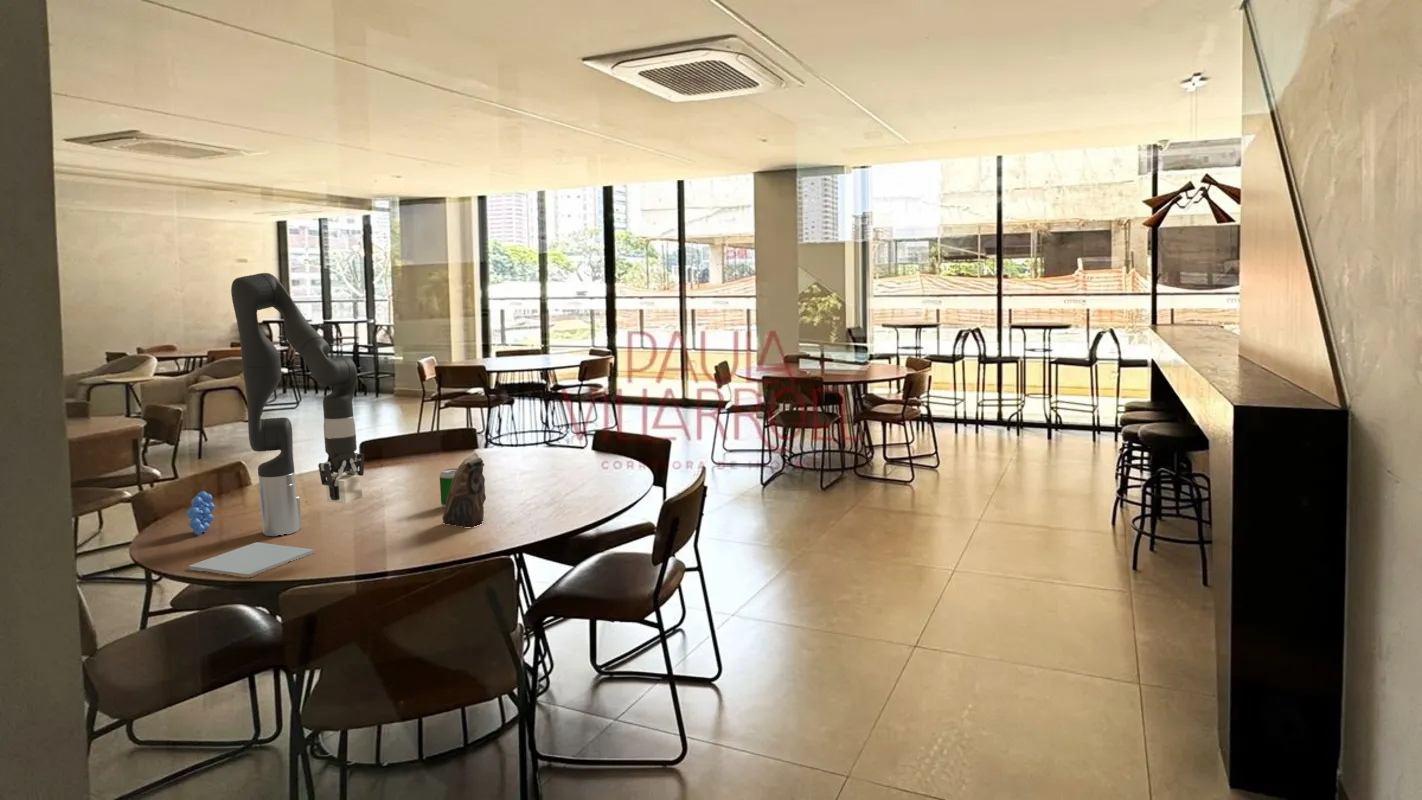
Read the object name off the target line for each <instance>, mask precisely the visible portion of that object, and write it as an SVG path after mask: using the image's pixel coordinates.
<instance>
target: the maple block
mask: <svg viewBox="0 0 1422 800" xmlns="http://www.w3.org/2000/svg"><path fill="white" fill-rule="evenodd" d="M334 479H335V477H334V478H333V480H332V481H334ZM326 480H327V478H326ZM338 481H339V483H338V486H339V500H332V499H331V498H330V492H329V486H328V485H325V488H326V489H325V491H326V501H327V502H329V503H336V504H337V503H338V504H348V503H351V502H354V501H357V500H360V499H363V489H362V488H363V487H362V476H358V475H347V474H346V473H343V474H342V477H341V478H340V479H339V480H338Z"/></svg>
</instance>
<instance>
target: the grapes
mask: <svg viewBox="0 0 1422 800" xmlns="http://www.w3.org/2000/svg"><path fill="white" fill-rule="evenodd" d="M213 499H214V498H213V496H212V494H211V493H207V491H204V490H201V491H200V492H198V493H197V495H196V496H195V497H194V498H193V499H192V500H191V501H190V503H191V505H192V507H190V508H189V509H188V510H187V511H186V513H185V515H186V517H187V518H188V519H189V520H190V521H189V522H188V526H189V527H190V528H191V529H192V532H193V533H194V534H195V535H197V536H200V535H201V534H203V533H202V532H204V531H206V532H208V530H210V528H211V526H210V524H211V523H213V521H214V520H215V517H214V515H213V514H212V512H214V510H215V509H216V505H215V504H214V503H213V502H212V501H213ZM204 533H205V532H204Z"/></svg>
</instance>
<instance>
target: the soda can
mask: <svg viewBox="0 0 1422 800" xmlns="http://www.w3.org/2000/svg"><path fill="white" fill-rule="evenodd" d="M457 469H458V467H457V468H454V467H453V468H446V469H445V468H444V469H443V470H442V471H441V472H440V473H439V488H440V489H439V490H440V505H441V506H442V507H443V508H444V509H445V506H446V499H447V497H448V494H449V491H450V487H451V483H452V479H453V477H454V475H455V472H456V471H457Z"/></svg>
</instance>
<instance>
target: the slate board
mask: <svg viewBox="0 0 1422 800" xmlns="http://www.w3.org/2000/svg"><path fill="white" fill-rule="evenodd" d="M312 553H313V554H314V553H315V552H314V549H313V548H312V549H311V548H305V547H304V548H303V547H299V546H298V547H296V546H290V545H289V546H288V545H282V544H281V545H280V544H275V543H274V544H273V543H266V542H260V541H259V542H258V541H256V542H253V543H251V544H247V545H245V546H241V547H239V548H236V549H233V550H230V551H227V552H224V553H221V554H219V555H216V556H213V557H210V558H207V559H204V560H202V561H199V562H196V563H193V564H190V565H188V570H190V571H195V570H196V572H202V571H210V572H218V573H226V574H236V575H245V576H250V575H252V574H256V573H260V572H263V571H265V570H267V569H270V568H272V567H275V566H277V565H280V564H283V563H285V562H288V561H292V562H294V561H293V560H295V561H297V560H300V559H302V557H303V558H304V557H308V556H310V555H313V554H312ZM309 554H310V555H309ZM307 555H308V556H307ZM299 558H300V559H299ZM296 559H297V560H296Z"/></svg>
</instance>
